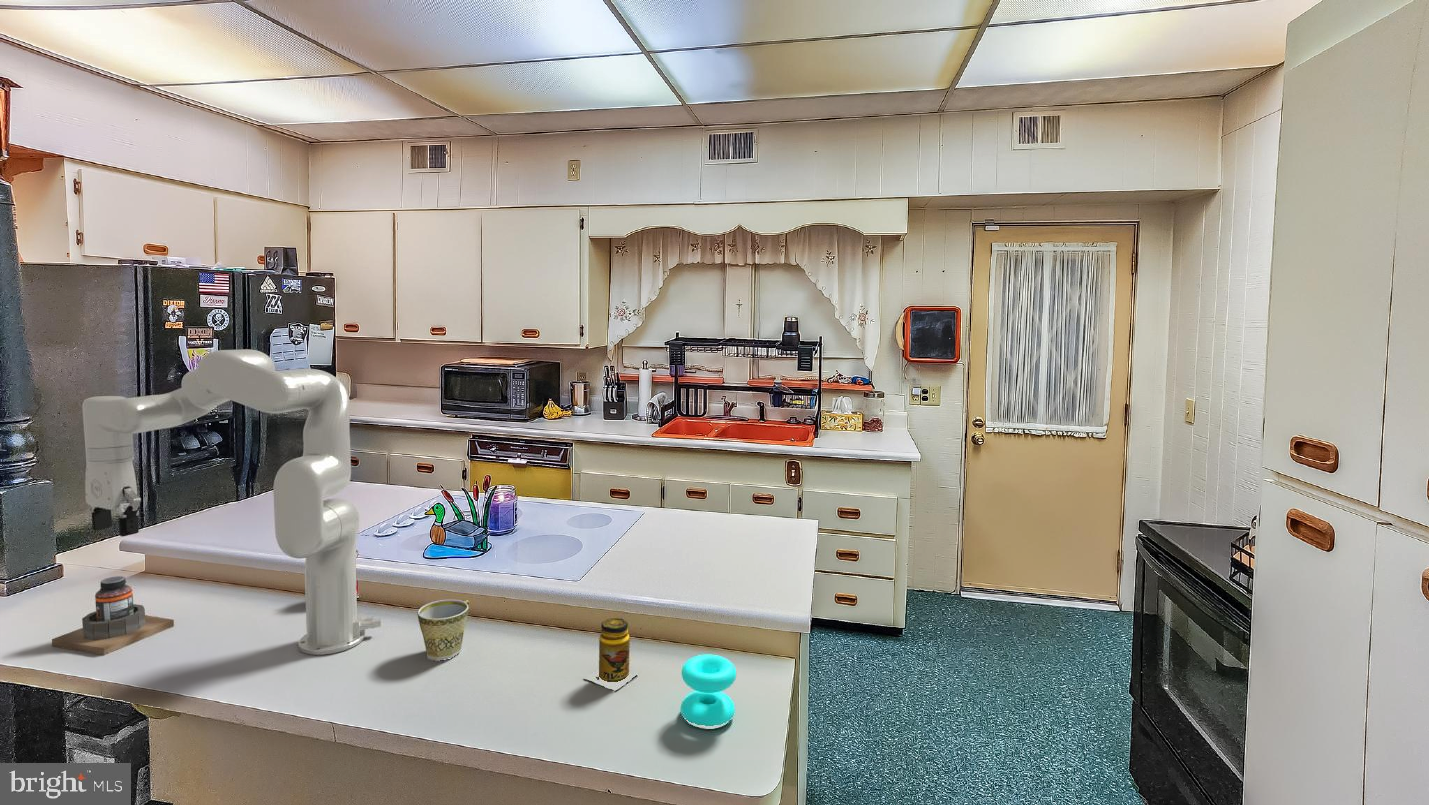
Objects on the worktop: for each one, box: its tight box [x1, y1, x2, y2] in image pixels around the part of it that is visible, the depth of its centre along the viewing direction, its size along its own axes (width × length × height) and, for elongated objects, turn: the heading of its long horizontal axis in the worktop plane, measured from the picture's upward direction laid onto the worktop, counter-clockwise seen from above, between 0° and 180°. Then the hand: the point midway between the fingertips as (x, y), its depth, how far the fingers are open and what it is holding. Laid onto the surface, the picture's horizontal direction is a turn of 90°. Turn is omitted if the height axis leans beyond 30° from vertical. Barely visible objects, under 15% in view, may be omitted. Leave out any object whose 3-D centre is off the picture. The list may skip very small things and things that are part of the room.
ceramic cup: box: [417, 599, 471, 662], centre depth 139 cm, size 13×10×10 cm
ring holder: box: [51, 603, 175, 656], centre depth 141 cm, size 14×14×5 cm
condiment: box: [598, 617, 631, 682], centre depth 131 cm, size 7×8×12 cm
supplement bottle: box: [94, 575, 134, 622], centre depth 141 cm, size 6×6×11 cm
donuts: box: [680, 654, 737, 726], centre depth 118 cm, size 10×10×10 cm
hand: (115, 531), depth 141 cm, fingers open, 9 cm apart
